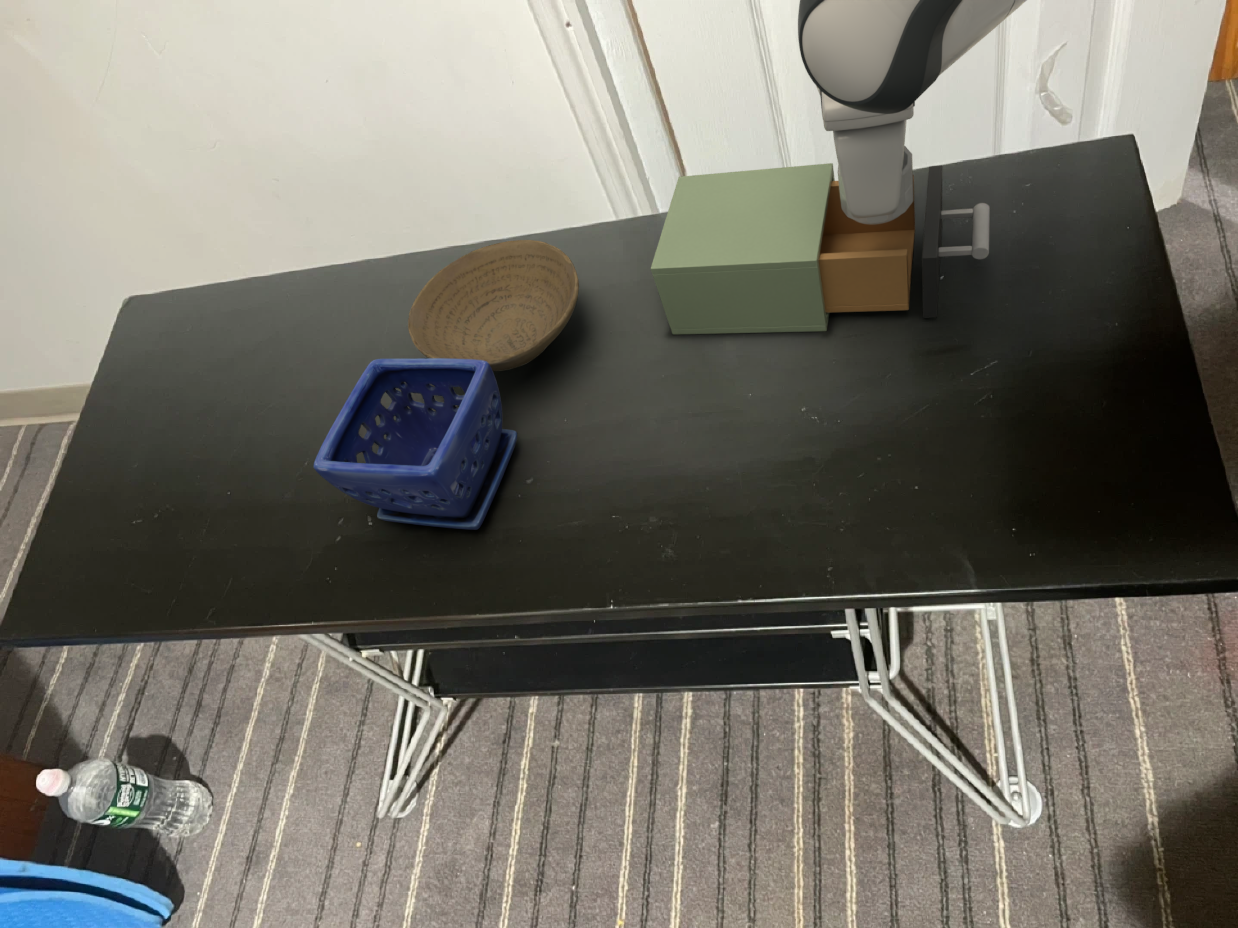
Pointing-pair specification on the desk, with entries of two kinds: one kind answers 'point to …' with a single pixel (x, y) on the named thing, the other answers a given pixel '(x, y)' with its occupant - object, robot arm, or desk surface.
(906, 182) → the steel bowl
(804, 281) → the cabinet
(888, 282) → the drawer
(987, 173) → the desk surface
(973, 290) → the desk surface
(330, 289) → the desk surface
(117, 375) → the desk surface
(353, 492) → the flower pot
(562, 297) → the bowl
